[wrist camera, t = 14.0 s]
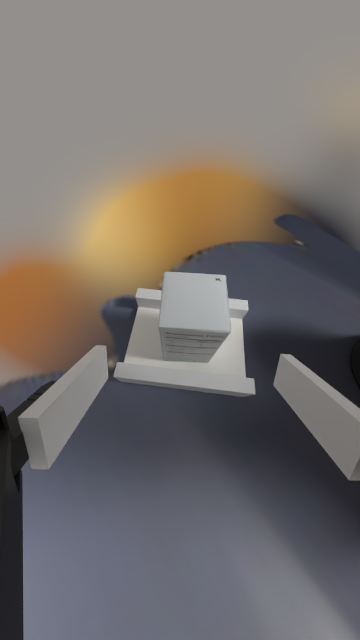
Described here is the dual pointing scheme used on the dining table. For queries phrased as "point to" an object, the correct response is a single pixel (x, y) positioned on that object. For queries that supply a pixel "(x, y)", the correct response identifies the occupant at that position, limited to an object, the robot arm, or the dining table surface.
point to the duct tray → (208, 377)
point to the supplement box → (193, 316)
